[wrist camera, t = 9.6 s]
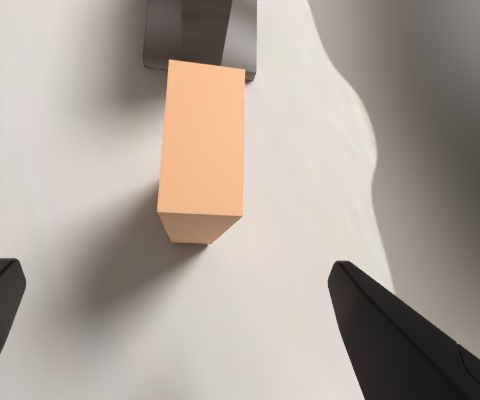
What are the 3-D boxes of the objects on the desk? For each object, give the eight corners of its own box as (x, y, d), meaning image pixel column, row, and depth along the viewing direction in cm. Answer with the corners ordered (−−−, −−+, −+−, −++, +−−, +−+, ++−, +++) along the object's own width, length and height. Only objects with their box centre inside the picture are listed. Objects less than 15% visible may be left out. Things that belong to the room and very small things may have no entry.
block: (211, 243, 20) (242, 215, 9) (171, 242, 19) (156, 211, 9) (214, 170, 21) (245, 69, 10) (176, 167, 20) (169, 59, 10)
